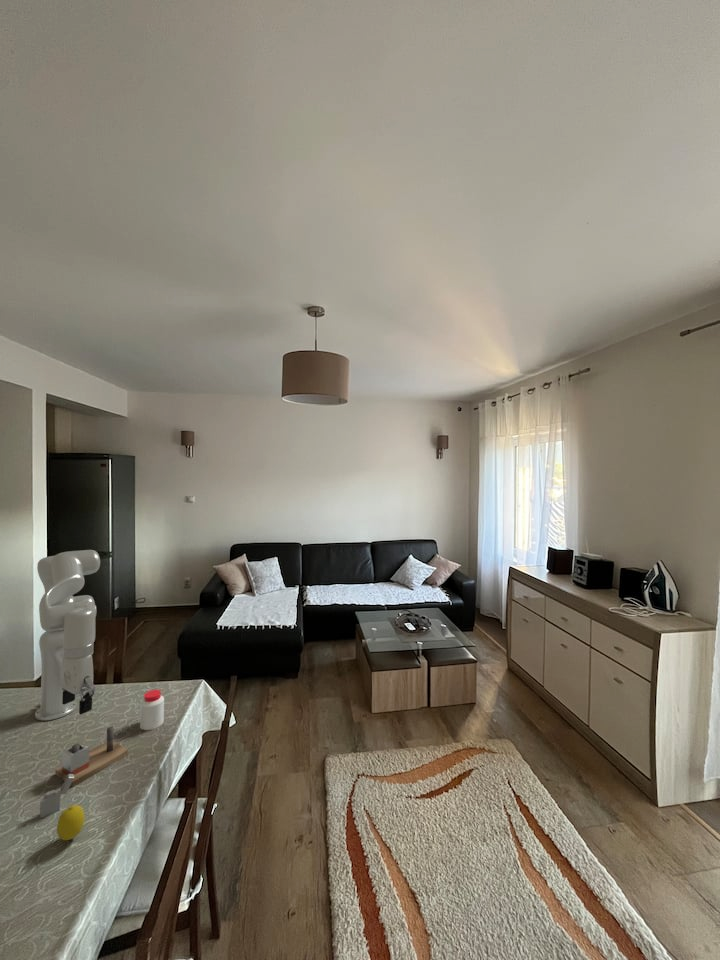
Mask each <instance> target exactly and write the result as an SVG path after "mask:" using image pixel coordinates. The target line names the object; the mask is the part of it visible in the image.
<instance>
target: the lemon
mask: <svg viewBox="0 0 720 960" xmlns="http://www.w3.org/2000/svg"><path fill="white" fill-rule="evenodd" d="M85 819H86V817H85V810H84V809H83V807H82V806H81V805H78V804H75V805H71V806H69V807H67V808H66V809H64V811H63V812H62V813H61V814H60V815H59V817H58V821H57V824H56V834H57V836H58V838H60V840H63V841H69V840H72V839H74V838H75V837H77V836H78V834H79V833H80V832H81V831H82V829H83V827H84V824H85Z"/></svg>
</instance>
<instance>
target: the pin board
mask: <svg viewBox="0 0 720 960" xmlns="http://www.w3.org/2000/svg"><path fill="white" fill-rule="evenodd" d="M114 729H115V728H114V726H108V728H107V729H106V741H105V742H104V743H102V744H100V745H98V746H97V747H95V748H93V749H91V750H89V767H88V768H86V769H84V770H83V771H81V772H79V773H77V774H75V775H74V779H73V781H72V783H71V785H70V787H72V788H74V787H75V786H77V785H79V784H80V783H82V782H84V781H86V780H87V779H89V778H91V777H92V776H94V775H96V774H98V773H99V772H101V771H103V770H104V769H106V768H108V767H109V766H111V765H113V764H114V763H116V762H118V761H120V760H121V759H123V758H125V757H126V756H128V755H129V749H127V748H125V747H124V746H122V745H120V744H119V743H118V742H115V741H114V732H115V731H114ZM71 746H72V753H75V752H77V751H79V747H80V744H77V743H75V744H73V745H71ZM54 774H55V775H56V776H57V777H58V778H60V779H61V780H62V779H63V780H62V781H63V782H65V780H66V778H67V776H68V775H66V774H65V773H64V772H62V765H60V766H59V767H57V768H55V773H54Z"/></svg>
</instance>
